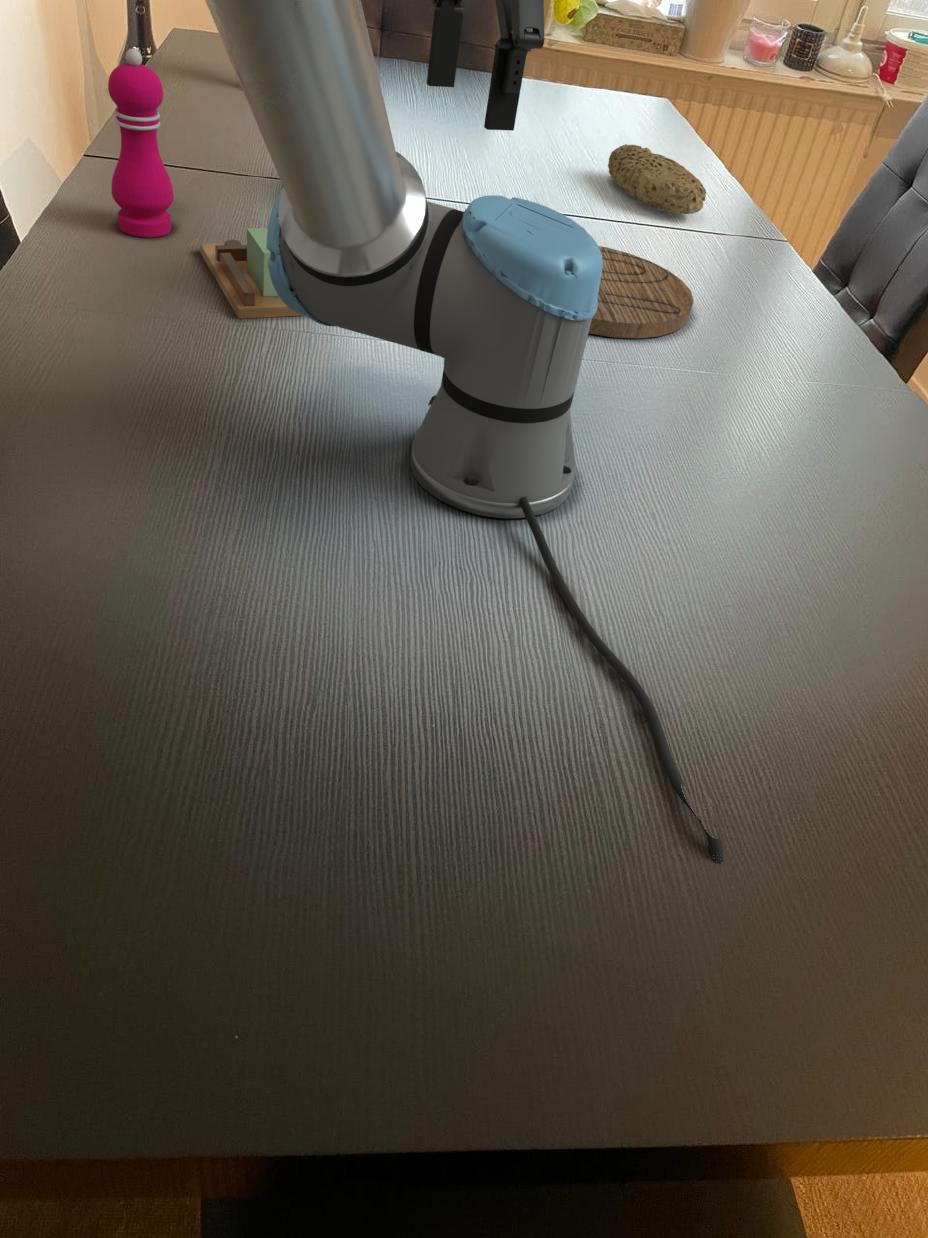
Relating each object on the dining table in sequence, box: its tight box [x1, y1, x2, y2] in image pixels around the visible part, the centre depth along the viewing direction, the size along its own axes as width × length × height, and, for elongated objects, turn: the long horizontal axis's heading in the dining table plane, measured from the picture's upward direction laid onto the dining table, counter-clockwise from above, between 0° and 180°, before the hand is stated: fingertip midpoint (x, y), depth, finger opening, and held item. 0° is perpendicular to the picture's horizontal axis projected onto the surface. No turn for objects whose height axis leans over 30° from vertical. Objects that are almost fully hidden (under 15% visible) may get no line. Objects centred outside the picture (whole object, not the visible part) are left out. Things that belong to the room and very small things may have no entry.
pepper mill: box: [107, 48, 174, 239], centre depth 117 cm, size 7×7×20 cm
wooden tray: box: [199, 239, 303, 320], centre depth 116 cm, size 18×14×3 cm
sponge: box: [607, 143, 707, 215], centre depth 159 cm, size 13×8×20 cm
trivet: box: [588, 245, 695, 339], centre depth 127 cm, size 25×25×2 cm
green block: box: [246, 227, 278, 297], centre depth 113 cm, size 7×7×5 cm
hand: (468, 106), depth 94 cm, fingers open, 13 cm apart
